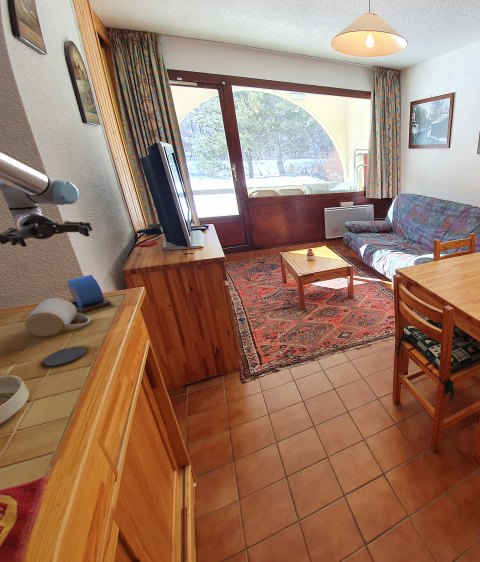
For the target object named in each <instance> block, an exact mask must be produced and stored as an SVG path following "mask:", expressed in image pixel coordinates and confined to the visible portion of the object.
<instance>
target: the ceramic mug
mask: <svg viewBox="0 0 480 562" xmlns="http://www.w3.org/2000/svg"><path fill="white" fill-rule="evenodd" d="M75 319H78V320H83V321H86V322H83V323H79V324H78V323H77V324H76V323H75V324H74V323H73V324H72V322H73V321H74V320H75ZM90 322H91V319H90V317H89V316H88V315H86V314H84V313H81V312H78V309H76V307H75V306H74V305H73V304H72V303H71V302H70V301H69V300H66V299H64V298H59V297H53V298H52V297H51V298H47V299H44V300H42V301H40V302H39V303H38V304H37V306H35V308H34V309H33V310H32V311H31V312H30V314H29V315H28V316H27V318H26V320H25V328H26V330H27V331H28V332H29V333H30V334H32V335H33V336H36V337H47V336H53V335H57V334H60V333H63V331H65V330H75V329H80V328H83V327H84V326H86V325H88V324H89V323H90Z"/></svg>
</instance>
